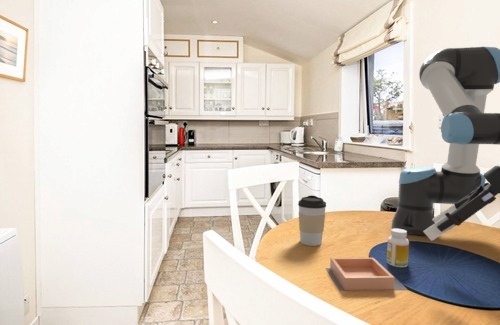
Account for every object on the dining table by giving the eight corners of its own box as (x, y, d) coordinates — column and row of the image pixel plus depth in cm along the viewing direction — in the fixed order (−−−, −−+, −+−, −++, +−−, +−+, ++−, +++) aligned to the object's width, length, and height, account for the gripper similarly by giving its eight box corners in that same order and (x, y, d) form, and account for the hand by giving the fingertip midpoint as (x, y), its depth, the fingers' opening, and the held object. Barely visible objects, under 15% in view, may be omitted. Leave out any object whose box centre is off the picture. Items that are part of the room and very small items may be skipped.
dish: (372, 268, 87) (373, 257, 87) (394, 289, 75) (394, 277, 75) (330, 268, 86) (330, 257, 86) (344, 290, 75) (345, 278, 74)
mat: (384, 269, 87) (384, 267, 87) (407, 291, 75) (407, 289, 75) (325, 269, 86) (325, 268, 86) (339, 292, 75) (339, 290, 75)
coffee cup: (325, 248, 102) (326, 201, 101) (296, 245, 104) (297, 199, 102) (324, 238, 111) (326, 195, 109) (297, 236, 113) (299, 194, 111)
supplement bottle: (411, 264, 90) (413, 230, 89) (402, 270, 87) (404, 234, 86) (391, 258, 94) (393, 226, 93) (382, 263, 91) (384, 230, 90)
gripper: (531, 198, 62) (436, 256, 72) (522, 182, 82) (448, 229, 92) (498, 169, 65) (411, 228, 75) (497, 160, 84) (428, 208, 95)
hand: (431, 229), depth 84 cm, fingers open, 13 cm apart
